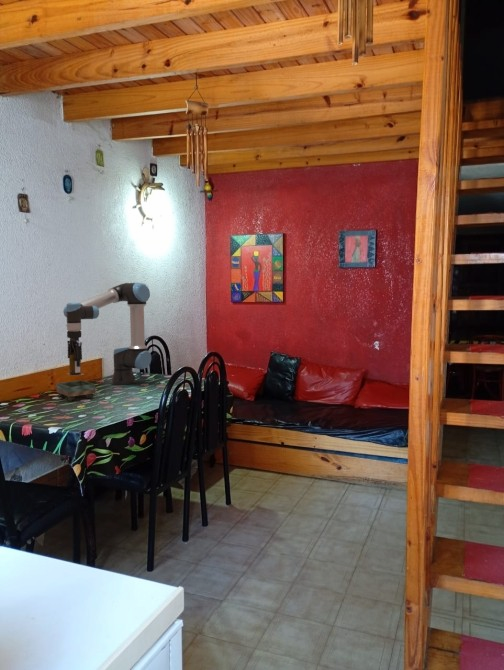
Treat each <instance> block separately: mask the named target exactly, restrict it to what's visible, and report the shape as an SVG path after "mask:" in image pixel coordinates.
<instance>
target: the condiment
mask: <svg viewBox="0 0 504 670" xmlns="http://www.w3.org/2000/svg"><path fill="white" fill-rule="evenodd" d="M68 359H69V360H68V362H69V368H68V369H69V373H67V375H69V376H82V375H85V374H84V373H82V364H81V363H82V360H81V361H80V372H79V373H75V361H74V360H76V359H75V353H70V358H68Z"/></svg>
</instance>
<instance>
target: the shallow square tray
mask: <svg viewBox="0 0 504 670" xmlns="http://www.w3.org/2000/svg"><path fill="white" fill-rule="evenodd" d="M56 393H57V394H58V397H59V398H64V397H65V396H66V397H68V398H67V400H68V401H70V402H74V401H75V397H76V396H78V397H79V396H83V395H87V396H86V397H87V398H88V399H93V398H94V396H95V395H94V394H96V383H91V382H88V381H85V380H83V379H82V380H76V381H75V380H73V381H72V380H71V381H65V382H58V383H56Z"/></svg>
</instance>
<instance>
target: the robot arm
mask: <svg viewBox="0 0 504 670" xmlns="http://www.w3.org/2000/svg"><path fill="white" fill-rule="evenodd" d="M150 296H151V291H150V289H149V287H148V285H146V284H145V283H142V282H125V283H120V284H118V285H115V286H113V287H111V288H109V289H108V290H107V291H105V292H104V293H100V294H98V295H96V296H93V297H91V298H88V299H86V300H83V301H81V302H67V304H66V306H65V307H64V308H63V311H62V313H63V315H64V317H65V318H66V325H65V326H66V329H67V330H66V331H67V332H66V338H68V339H69V340H67V341H66V342H67V359H69V358H70V353H75V359H76V360H74V361H75V373H79V372H80V361H81V362H82V360H83V353H82V352H83V351H82V349H83V347H82V346H83V342H82V341H80V338H82V320H94V319H98V317H99V315H100V310H99V309H101V308H103V307H105V306H108V305H110V304H117V303H120V302H126V304H127V306H128V307H129V316H130V317H129V320H130V321H129V322H130V325H129V326H130V346H128V347H119V348H115V349H114V350H113V374H112V377H111V384H112V385H118V386H120V385H121V386H125V385H126V386H127V385H132V384H135V383H136V377H135V375H134V372H133V369H136V370H137V369H138V370H144V369H145V370H146V368H148V367H149V366H150V364H151V362H152V354H151V352H150V351H148V347H147V345H146V339H145V336H146V335H145V333H146V332H145V306H146V305H147V301H148V300H149V299H150Z"/></svg>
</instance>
